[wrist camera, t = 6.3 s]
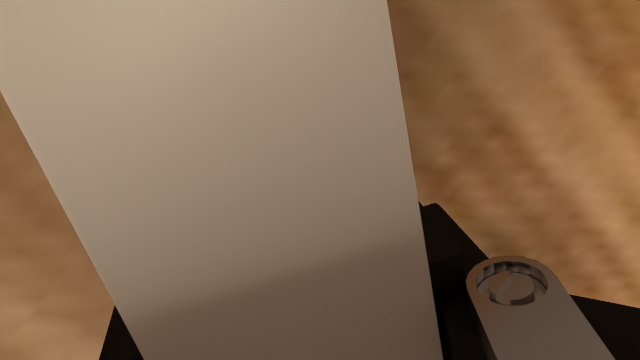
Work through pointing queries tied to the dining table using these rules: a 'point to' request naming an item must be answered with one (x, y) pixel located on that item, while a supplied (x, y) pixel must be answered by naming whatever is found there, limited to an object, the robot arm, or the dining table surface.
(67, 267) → the dining table surface
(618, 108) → the dining table surface
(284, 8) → the white bar grey caps
